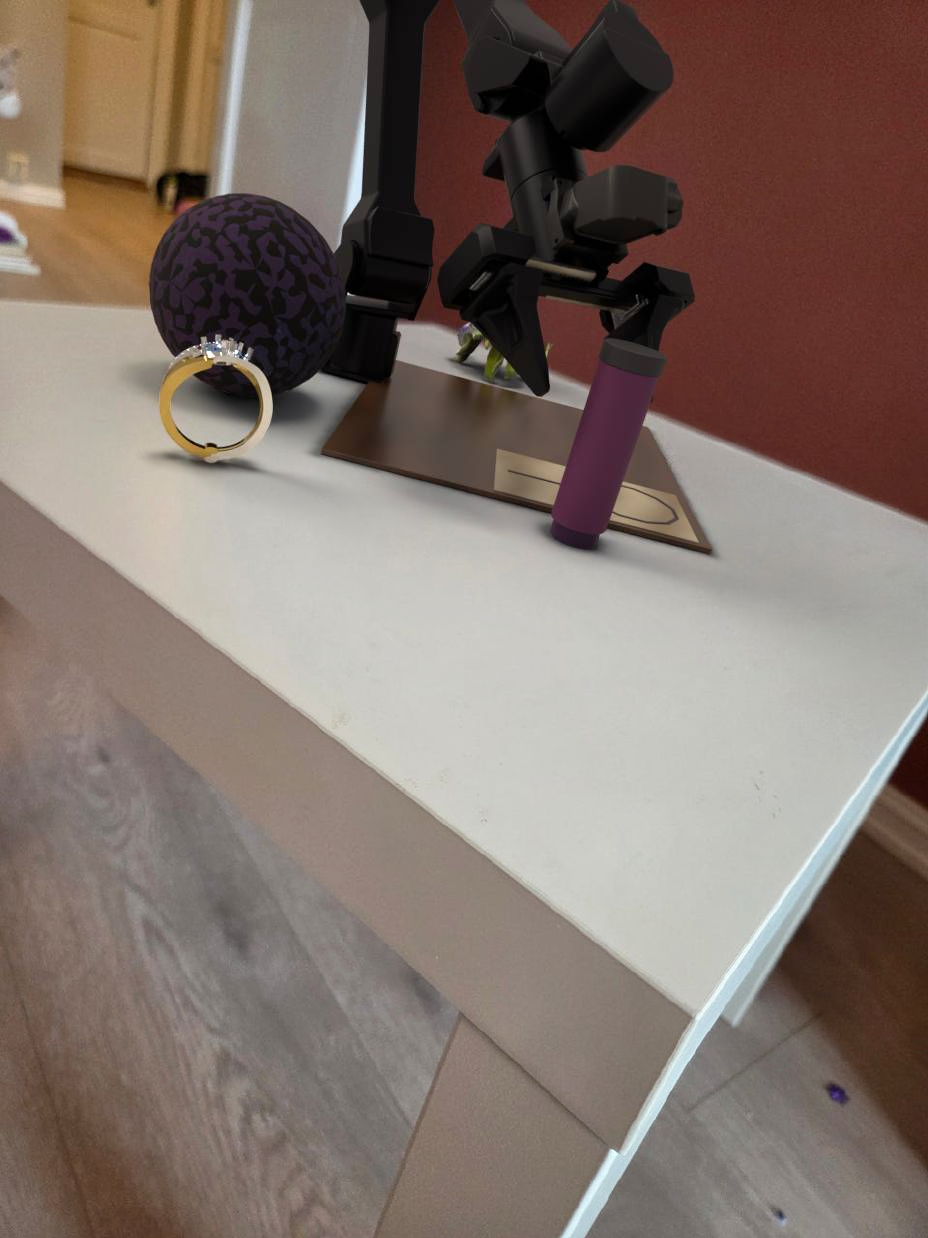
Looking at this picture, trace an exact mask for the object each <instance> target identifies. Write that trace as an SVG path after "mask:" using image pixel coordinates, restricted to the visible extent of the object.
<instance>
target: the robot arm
mask: <svg viewBox="0 0 928 1238" xmlns="http://www.w3.org/2000/svg"><path fill="white" fill-rule="evenodd" d="M358 1H359V3H360V5H361V7H362V10H363V13H364V14H365V17H366V19H367V21H368V45H367V46H368V47H367V65H366V66H367V68H366V69H367V70H366V86H365V87H366V89H365V109H364V112H365V113H364V132H363V153H362V172H361V173H362V176H361V193H360V199H359V200H358V202H357V204H356V205H355V207H354V208H353V209H352V211H351V213H350V214H349V216H348V217H347V218H346V220H345V221H344V223H343V224H342V227H341V228H342V229H341V236H340V244H339V246H338V247H336V249H335V251H333V253H334V255H335V257H336V259H337V261H338V264H339V267H340V270H341V273H342V276H343V282H344V287H345V294H346V312H345V319H344V324H343V329H342V333H341V336H340V339H339V342H338V344H337V346H336V349H335V350H334V352H333V353H332V355H331V357H330V358H329V360H328V361H327V362H326V363H325V365H324V366H323V367H322V368H321V369H320V370H319V371H324V372H327V373H331V374H334V375H339V376H342V377H347V378H349V379H354V380H358V381H361V382H365V383H369V381H373V382H377V383H383V382H384V380H385V379H386V378H389V377H391V375H392V373H393V372H394V367H395V362H396V360H397V356H398V353H399V348H400V342H401V339H402V333H401V331H399V330H397V328H398V324H399V319H403V320H407V321H411V322H414V321H415V320H416V317H417V315H418V312H419V311H420V308H421V306H422V304H423V300H424V298H425V296H426V294H427V291H428V288H429V286H430V284H431V281H432V276H433V275H432V273H433V267H434V258H433V247H434V246H433V244H434V238H435V231H436V230H435V225H434V221H433V219H432V218H430V217H427V216H423V215H422V213H421V211H420V209H419V207H418V204H417V202H416V181H417V180H416V179H417V164H418V163H417V162H418V148H419V147H418V146H419V129H420V115H421V113H420V112H421V98H422V97H421V95H422V79H423V62H424V48H425V47H424V46H425V45H424V43H425V31H426V25H427V22H428V21H429V19H430V18H431V17H432V15H433V14H434V12H435V11H436V8H437V7H438V6H439V5H440V3H441V1H442V0H358ZM451 2H452V3H453V6H454V8H455V11H456V13H457V15H458V18H459V20H460V23H461V25H462V28H463V29H464V32H465V35H466V38H467V43H468V46H467V49H466V51H465V53H464V55H463V58H462V61H461V66H462V67H461V68H462V72H463V76H464V80H465V84H466V88H467V92H468V95H469V96H468V97H469V100H470V103H471V106H472V107H473V109H474V110H475V111H476V112H477V113H478V114H480V115H483V116H487V117H490V118H493V119H495V120H500V121H503V122H506V123H509V124H508V126H506V127H505V129H504V131H503V132H502V133H501V134H500V135H499V137H497V138H496V139H495V140H494V143H493V148H492V150H491V151H490V152H489V154H488V155H487V156H486V157H485V159H484V163H483V166H482V169H481V174H482V176H483V177H485V178H489V179H493V180H496V181H500V182H504V183H505V187H506V192H507V196H508V201H509V206H510V209H511V214H512V217H511V218H510V220H509V221H508V222H506V224H504V225H503V227H500V226H496V225H493V224H488V223H483V222H478V223H477V224H476V225H475V227H474V228H472V230H471V231H470V232H469V233H468V234H467V236H465V237H464V239H463V240H462V241H461V243H460V244H459V245H458V246H457V247H456V248H455V249H454V250H453V252H452V253H451V254H450V255H449V256H448V257H447V259H445V260H444V262H443V263H442V264H441V265H440V267H439V270H438V275H437V279H436V282H437V287H438V292H439V297H440V302H441V304H442V306H443V308H444V309H448V310H454V311H458V313H459V317H460V320H462V321H463V322H467V323H469V322H470V323H472V324H473V325H474V326H475V327H476V328H477V330H478V331H479V332H480V333H481V334H482V335H483V336H484V337H485V338H486V339H487V340H488V341H489V342H490V343H491V344H490V345H491V346H492V345H493V346H494V347H495V348H496V349H497V350H498V351H499V353H500V354H501V355H502V356H503V357H504V360H505V361H506V363H507V362H508V363H509V364H510V365H511V367H512V368H513V369H514V370H515V371H516V373H517V374H516V375H517V376H519V378H520V379H521V380H522V382H524V384H525V385H526V386H527V388H528V389H529V390H530V391H531V392H532V394H534V396H535V397H537V398H542V397H544V396H545V395H547V394H548V393H549V392H550V390H551V383H550V381H551V380H550V369H549V364H548V363H549V362H548V358H546V353H545V350H546V347H544V345H545V343H544V338H543V332H542V326H541V322H540V317H539V313H538V300H539V297H543V298H545V299H546V300H548V301H555V302H559V303H565V304H569V305H575V306H581V307H587V308H590V309H591V308H592V309H596V310H599V312H598V315H599V320H600V323H601V327H602V328H603V329H604V330H605V331H606V333H608V334H607V335H606V336H605V337H603V341H604V339H605V338H614V339H620V340H624V341H628V342H632V343H636V344H639V345H642V346H645V347H648V348H651V349H654V350H656V351H658V352H660V347H661V342H662V338H663V334H664V331H665V329H666V326H667V324H669V322H671V321H672V320H673V319H675V318H676V317H678V316H679V315H680V314H681V313H682V311H684V310H685V309H687V308H688V307H690V306H691V305H692V304H694V303H695V299H696V296H695V291H694V288H693V284H692V283H693V282H692V280H691V276H690V273H689V272H685V271H682V270H681V269H680V270H679V269H677V268H671V267H667V266H663V265H659V264H655V263H652V262H647V261H643V262H642V263H641V264H640V265H639V266H638V267H636V268H635V269H634V270H633V271H631V272H630V273H629V274H627V276H625V277H624V278H623V279H622V280H621V279H617V278H611V277H608V275H609V272H610V271H609V267H610V266H611V265H612V264H613V265H618V264H620V263H621V262H622V261H623V260H624V259H626V258H627V257H628V256H629V255H630V253H629V249H628V244H630V243H634V242H636V241H638V240H641V239H644V238H648V237H649V236H652V235H653V236H656V237H659V236H661V235H663V234H665V233H666V232H667V231H669V230H672V229H675V228H677V226H679V224H680V222H681V220H682V218H683V206H684V198H683V196H682V193H681V191H680V188H679V186H678V183H677V181H676V179H675V178H673V177H670V176H667V175H665V174H661V173H655V172H652V171H650V170H645V169H643V168H639V167H638V166H637V167H636V166H633V165H629V164H616V165H615V164H614V165H611V166H608V167H606V168H604V169H601V170H600V171H598V172H596V173H594V174H592V175H588V170H587V166H586V161H585V158H584V157H585V156H584V153H583V151H591V152H593V153H606V152H609V151H610V150H611V149H612V148H614V146H615V145H616V144H617V143H618V142H620V140H621V139H622V138H623V137H625V135H626V134H627V133H628V132H629V131H630V130H631V129H632V128H633V127H634V126H635V125H636V124H637V123H638V121H640V119H642V118H643V116H644V115H645V114H646V113H647V112H648V111H649V110H650V109H651V108H652V107H653V106H654V105H655V104H656V103H657V102H658V101H659V99H660V98H662V97H663V95H664V94H665V93H667V91H668V90H669V89H670V88H671V87H672V85H673V82H674V77H675V73H674V71H675V70H674V66H673V62H672V59H671V56H670V55H669V54H668V53H667V52H665V51H664V49H663V47H662V45H661V44H660V42H659V41H658V39H657V38H656V36H654V34H653V33H652V32H651V31H650V29H648V28H647V27H646V26H645V25H644V24H643V23H642V22H641V21H640V20H639V16H638V13H637V9H636V7H634V6H632V5H630V4H627V3H626V2H624V1H621V0H608V1H607V3H606V4H605V5H604V7H603V8H602V9H601V11H600V12H599V13H598V14H597V17H596V18H595V20H594V21H593V23H592V24H591V26H590V28H589V29H587V31H586V33H585V34H584V35H583V37H581V39H580V40H579V41H578V43H577V44H576V45H575V46H574V48H573V49H572V48H571V47H570V46H569V44H568V43H567V42H566V41H565V39H564V38H563V37H562V36H561V34H560V33H559V32H558V31H557V30H556V29H554V28H553V27H552V26H550V25H549V24H548V23H547V22H545V21H544V20H543V19H542V18H541V17H540V16H538V15H537V14H536V13H534V11H533V10H532V9H531V8H530V7H529V5H528V3H527V1H526V0H451ZM485 338H484V339H485ZM654 394H655V393H654ZM654 394H653V397H652V400H651V402H650V405H651V404H652V403H653V401H654Z"/></svg>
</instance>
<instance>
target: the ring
mask: <svg viewBox="0 0 928 1238" xmlns="http://www.w3.org/2000/svg"><path fill="white" fill-rule="evenodd" d="M221 336H222V335H221V334H217V333H216V337H215V342H207V338H206V337H201V344H198V345H195V346H193V347H190V348H188V349H186V350H184V351H183V352H181V353H180V354H179V355H178V356H177V357H176V358H175V357H174V359H173V360H172V361H171V363H170V364H169V366H168V367H167V369H166V371H165V373H164V375H163V378H162V379H161V383H160V384H161V385H160V387H159V391H158V392H159V393H158V409H159V410H158V411H159V416H160V419H161V422H162V425H163V427H164V430H165V431H166V433H167V435H168V436H169V438H170V439H171V440H172V441H173V442H174V444H176V445H177V446H178V447H180V448H181V449H182V450H183V451H185V452H187V453H189V454H191V455H193V456H195V457H198V458H202V459H203V460H204V462H206V463H208V464H209V463H210V464H215V463H217V462H218V461H221V460H231V459H234V458H237V457H240V456H242V455H244V454H246V453H248V452H249V451H251V450H252V449H253V448H254V447H256V445H258V444H259V443H260V441H261V440H262V439H263V437H264V436H265V434H266V433H267V431H268V429H269V427H270V425H271V421H272V417H273V395H271V390H270V387H269V384H268V381H267V379H266V377H265V375H264V373H263V372H262V371H261V369H260V368H259V367H258V366H257V365H256V364H254V363H253V362H252V361H250V358H251V356H252V353H253V351H254V349H253V348H251V347H249V349H248V351H247V354H245V353H242V349H243V346H244V343H243V342H240V343H239V346H238V344H237V341H235V340H234V338H231V337H230V339H229V340H222V341H221ZM237 346H238V349H237ZM199 355H204V357H198V358H195V357H197V356H199ZM193 358H194V359H193ZM212 364H215V365H231V364H232V365H233V366H234V367H235V368H237V369H238V370H240V371H241V372H242V373H244V374H245V375H246V376H247V377H248V378H249V379H250V381H251V382H252V383H253V385H254V386H255V388H256V390H257V392H258V395H259V397H258V400H259V412H258V416H257V420H256V422H255V424H254V426H253V427H252V429H251V431H250V432H249V433H248V434H247V435H246V436H245V437H244V438H242V439H241V440H240V441H237V442H236V443H233V444H230V445H225V446H218V444H216V443H214V442H206V443H204V444H201V443H198V442H195V441H194V440H192V439H190V438H189V437H187V436H186V435H185V434H183V432H182V431H181V430H180V429H179V427H178V426H177V425H176V423H175V420H174V419H173V416H172V409H171V402H172V399H173V395H174V394H175V391H176V390H177V388H178V387H179V386H180V385H181V384H182V383H183V382H184V381H185V380H186V379H188V378H190V377H191V376H194V375H193V374H195V373H197V372H200V371H202V370H205V369H209V368H211V367H212Z"/></svg>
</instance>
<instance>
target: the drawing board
mask: <svg viewBox="0 0 928 1238" xmlns="http://www.w3.org/2000/svg"><path fill="white" fill-rule="evenodd" d="M583 410H584V409H582V408H579V407H575V406H570V405H566V404H563V403H559V402H555V401H552V400H548V399H544V398H542V397H537V396H532V395H529V394H525V393H521V392H518V391H514V390H510V389H506V388H502V387H499V386H495V385H492V384H488V383H484V382H480V381H477V380H473V379H469V378H465V377H461V376H458V375H454V374H451V373H447V372H443V371H439V370H435V369H432V368H428V367H424V366H420V365H416V364H413V363H409V362H405V361H402V360H401V361H400V360H397V359H396V362H395V367H394V372H393V373H392V375H391V377H389V378H386V379H385V380H384V382H383V383H377V382H373V381H369V382H367V383H366V385H365V387H364V388H363V389H362V391H361V392H360V394H359V395H358V397H357V398H356V399H355V401H354V402H353V403H352V405H351V406H350V408H348V411H347V412H346V413H345V415H344V416H343V417H342V418H341V420H340V422H339V423H338V425H337V426H336V428H335V429H334V430H333V432H332V433H331V435H330V436H329V438H328V439H327V440H326V442H325V444H324V445H323V446H322V448H321V449H320V454H322V455H325V456H330V457H333V458H337V459H341V460H344V461H349V462H351V463H355V464H360V465H364V466H368V467H371V468H376V469H379V470H383V471H386V472H391V473H395V474H398V475H403V476H406V477H411V478H413V479H414V478H415V479H419V480H423V481H425V482H430V483H434V484H438V485H442V486H445V487H449V488H453V489H457V490H461V491H465V492H468V493H472V494H476V495H479V496H484V497H488V498H493V499H495V500H499V501H504V502H507V503H511V504H515V505H519V506H523V507H527V508H531V509H535V510H539V511H543V512H546V513H550V514H551V512H552V509H553V506H554V502H555V499H556V496H557V493H558V490H559V486H560V483H561V480H562V477H563V474H564V471H565V467H566V464H567V461H568V458H569V455H570V451H571V448H572V445H573V442H574V439H575V436H576V432H577V429H578V426H579V423H580V420H581V417H582V413H583ZM654 437H655V436H653V434H652V432H651V430H650V428H649V426H645V425H642V428H641V431H640V434H639V437H638V440H637V443H636V446H635V448H634V451H633V454H632V457H631V460H630V463H629V466H628V469H627V471H626V474H625V477H624V480H623V483H622V486H621V489H620V491H619V494H618V497H617V500H616V503H615V506H614V509H613V512H612V514H611V517H610V520H609V523H608V526H607V528H609V529H612V530H616V531H619V532H624V533H628V534H631V535H635V536H639V537H642V538H648V539H651V540H655V541H658V542H663V543H666V544H671V545H674V546H678V547H682V548H686V549H690V550H693V551H698V552H701V553H705V554H708V555H710V554H712V550H713V547H712V546H711V545H710V543H709V541H708V539H707V537H706V535H705V533H704V531H703V529H702V527H701V525H700V523H699V522H698V520H697V518H696V516H695V514H694V512H693V510H692V508H691V506H690V505H689V502H688V501H687V498H686V497H685V495H684V493H683V491H682V490H681V487H680V485H679V483H678V481H677V480H676V478H675V476H674V474H673V472H672V470H671V468H670V466H669V464H668V462H667V461H666V459H665V456H664V455H663V453H662V451H661V449H660V446H658V445H659V444H658V443H657V441H656V439H655V438H654Z"/></svg>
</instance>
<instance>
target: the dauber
mask: <svg viewBox="0 0 928 1238" xmlns="http://www.w3.org/2000/svg"><path fill="white" fill-rule="evenodd" d="M604 338H605V337H604ZM667 361H668V356H667V355H666V354H665V353H662V352H660V351H659V352H658V351H656V350H654V349H651V348H648V347H645V346H642V345H639V344H636V343H632V342H628V341H624V340H620V339H614V338H605V339H604V340H603V341H602V345H601V348H600V351H599V355H598V362H597V366H596V369H595V372H594V375H593V379H592V382H591V385H590V388H589V391H588V395H587V397H586V401H585V404H584V407H583V409H582V410H583V413H582V417H581V420H580V423H579V426H578V429H577V432H576V436H575V439H574V442H573V445H572V448H571V451H570V455H569V458H568V461H567V464H566V467H565V471H564V474H563V477H562V480H561V483H560V486H559V490H558V493H557V496H556V499H555V502H554V506H553V509H552V512H551V513H550V516H551V518H552V519H553V520H552V523H551V527H550V530H549V532H550V535H551V536H552V537H553V538H555V539H556V540H558V541H559V542H561V543H563V544H566V545H569V546H571V547H575V548H579V549H592V548H595V547H596V546H597V545H598V541H599V538H600V535H603V534H605V533H606V531H607V528H608V527H607V526H608V523H609V520H610V517H611V514H612V512H613V509H614V506H615V503H616V500H617V497H618V494H619V491H620V489H621V486H622V483H623V480H624V477H625V474H626V471H627V469H628V466H629V463H630V460H631V457H632V454H633V451H634V448H635V446H636V443H637V440H638V437H639V434H640V431H641V428H642V426H644V422H645V419H646V417H647V414H648V411H649V408H650V405H651V404H650V402H651V400H652V397H653V398H654V395H653V394H655V391H656V388H657V385H658V382H659V379H660V378H661V377H662V375H663V374H664V370H665V368H666V364H667Z"/></svg>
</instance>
